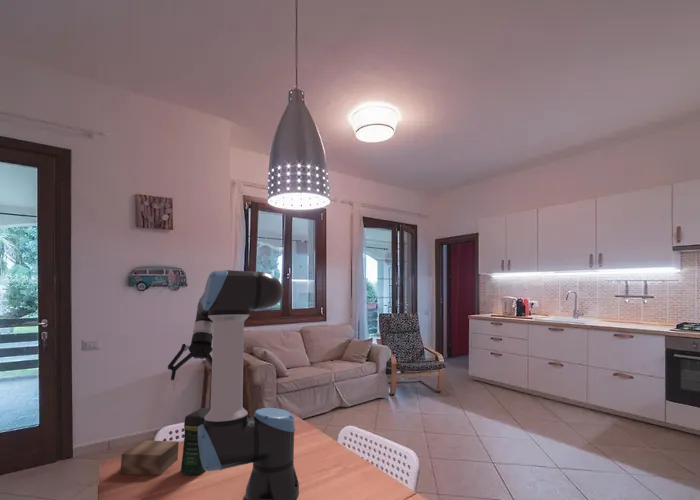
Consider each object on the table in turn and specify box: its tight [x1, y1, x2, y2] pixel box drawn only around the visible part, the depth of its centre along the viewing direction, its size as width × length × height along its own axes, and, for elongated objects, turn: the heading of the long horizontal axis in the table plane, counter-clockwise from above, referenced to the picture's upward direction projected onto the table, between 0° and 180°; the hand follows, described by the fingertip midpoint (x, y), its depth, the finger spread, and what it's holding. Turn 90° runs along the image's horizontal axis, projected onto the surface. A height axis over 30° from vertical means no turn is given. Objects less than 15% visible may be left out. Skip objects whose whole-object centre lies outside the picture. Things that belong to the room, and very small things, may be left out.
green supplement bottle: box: [180, 407, 211, 476], centre depth 122 cm, size 10×8×19 cm
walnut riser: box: [119, 439, 179, 476], centre depth 123 cm, size 13×11×6 cm
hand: (193, 390), depth 134 cm, fingers open, 13 cm apart
